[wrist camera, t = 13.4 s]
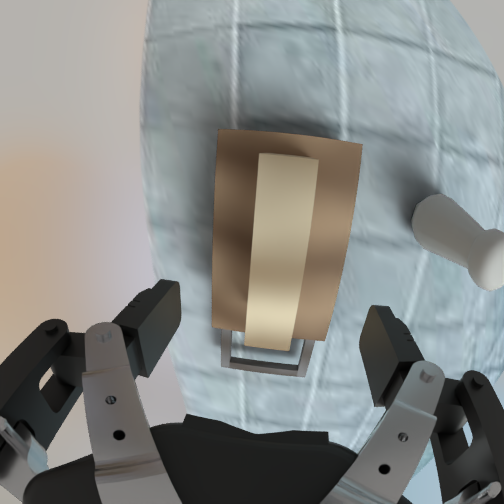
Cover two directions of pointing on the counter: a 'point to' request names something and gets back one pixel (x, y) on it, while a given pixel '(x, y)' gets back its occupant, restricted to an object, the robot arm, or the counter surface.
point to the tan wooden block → (279, 240)
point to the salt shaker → (460, 239)
